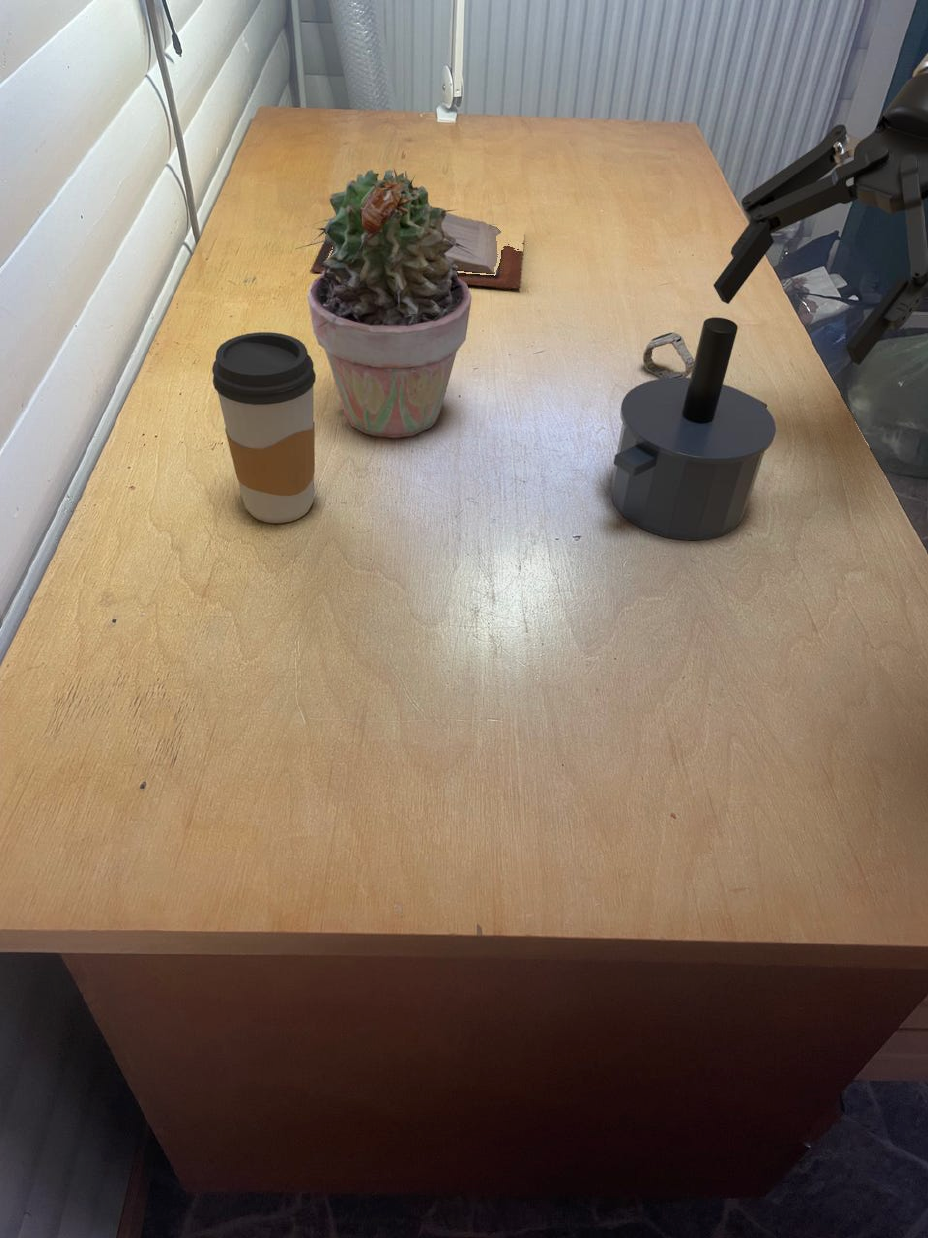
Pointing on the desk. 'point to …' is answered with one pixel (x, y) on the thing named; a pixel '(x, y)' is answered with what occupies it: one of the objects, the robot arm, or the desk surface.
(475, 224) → the book
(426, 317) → the potted plant
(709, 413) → the lid
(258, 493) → the coffee cup
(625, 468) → the pot
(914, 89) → the robot arm
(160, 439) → the desk surface
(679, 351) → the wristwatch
